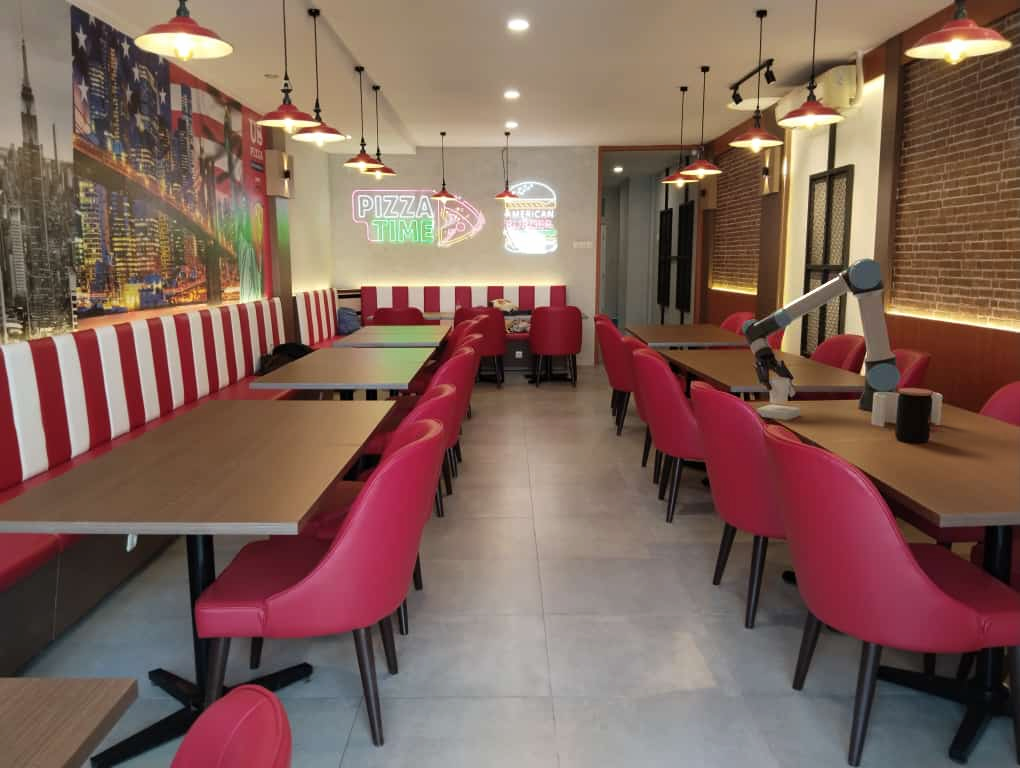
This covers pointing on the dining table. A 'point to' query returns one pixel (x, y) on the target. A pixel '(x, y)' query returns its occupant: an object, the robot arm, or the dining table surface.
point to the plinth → (779, 412)
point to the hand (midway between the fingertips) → (784, 395)
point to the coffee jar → (913, 415)
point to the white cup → (780, 390)
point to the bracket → (887, 408)
